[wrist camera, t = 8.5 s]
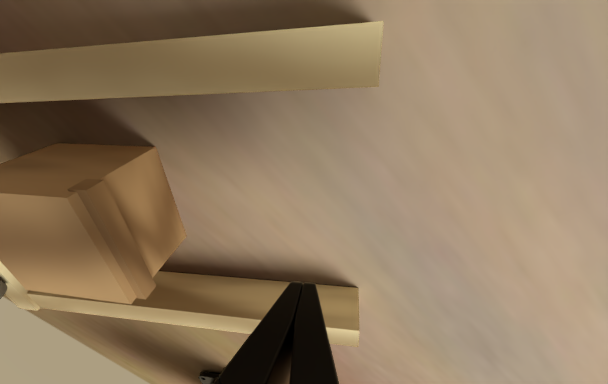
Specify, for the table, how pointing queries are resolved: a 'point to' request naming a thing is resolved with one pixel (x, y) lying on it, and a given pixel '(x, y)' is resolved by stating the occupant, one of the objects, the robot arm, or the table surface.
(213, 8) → the table surface
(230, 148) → the table surface
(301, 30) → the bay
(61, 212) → the box
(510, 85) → the table surface
